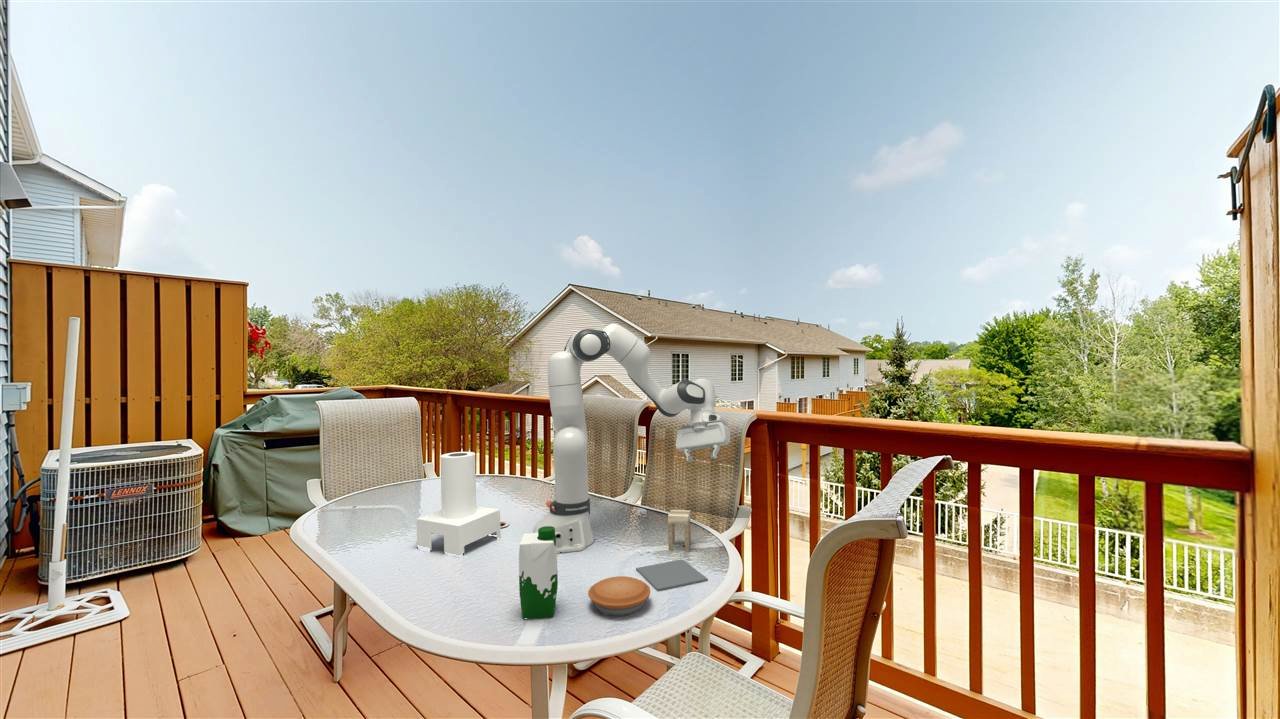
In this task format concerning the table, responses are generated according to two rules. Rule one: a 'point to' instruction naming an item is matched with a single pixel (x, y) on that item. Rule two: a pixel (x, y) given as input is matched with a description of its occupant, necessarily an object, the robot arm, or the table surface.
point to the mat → (671, 575)
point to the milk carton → (538, 573)
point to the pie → (619, 595)
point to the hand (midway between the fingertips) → (701, 460)
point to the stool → (679, 518)
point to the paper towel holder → (458, 508)
